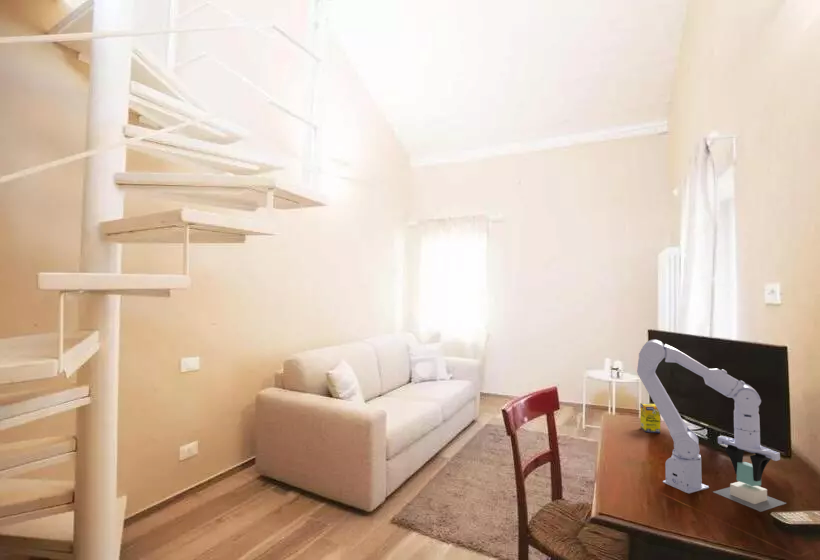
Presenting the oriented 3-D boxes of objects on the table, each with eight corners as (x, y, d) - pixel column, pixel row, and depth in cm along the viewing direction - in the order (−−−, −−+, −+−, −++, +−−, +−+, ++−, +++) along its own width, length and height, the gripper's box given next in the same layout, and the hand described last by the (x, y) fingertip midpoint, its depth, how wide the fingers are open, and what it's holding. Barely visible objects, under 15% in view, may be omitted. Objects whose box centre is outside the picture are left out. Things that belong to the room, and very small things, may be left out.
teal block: (752, 486, 115) (753, 467, 115) (736, 480, 118) (737, 462, 119) (761, 485, 116) (761, 467, 117) (744, 479, 120) (745, 461, 120)
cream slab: (754, 504, 113) (754, 493, 113) (730, 494, 119) (730, 483, 119) (767, 500, 115) (767, 489, 116) (743, 490, 121) (742, 480, 121)
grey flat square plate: (760, 512, 109) (760, 511, 109) (712, 492, 120) (712, 491, 120) (786, 504, 114) (786, 503, 114) (737, 485, 125) (737, 484, 125)
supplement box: (645, 432, 174) (645, 406, 174) (640, 428, 180) (639, 402, 180) (661, 433, 173) (660, 407, 173) (655, 429, 179) (654, 403, 179)
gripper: (785, 434, 113) (787, 485, 112) (727, 420, 126) (728, 465, 125) (770, 438, 110) (772, 490, 109) (712, 422, 123) (713, 468, 123)
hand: (747, 477), depth 117 cm, fingers closed on teal block, 4 cm apart
